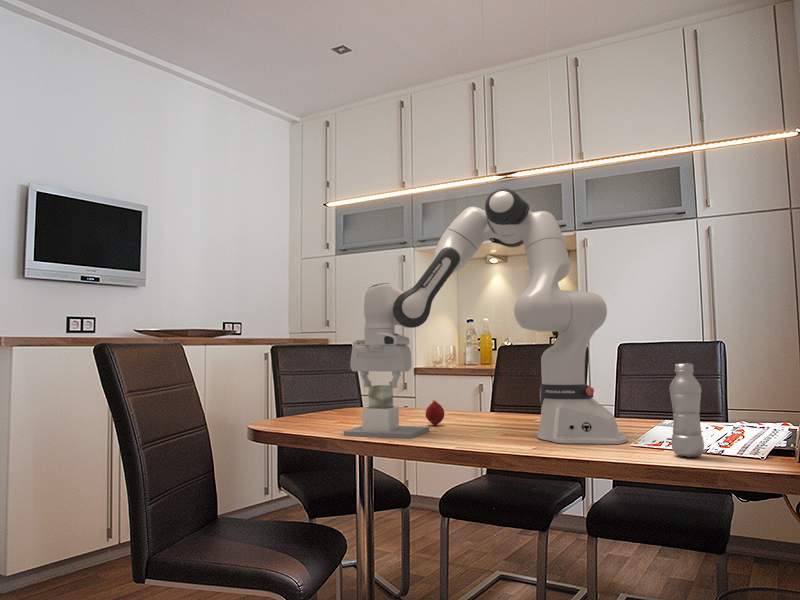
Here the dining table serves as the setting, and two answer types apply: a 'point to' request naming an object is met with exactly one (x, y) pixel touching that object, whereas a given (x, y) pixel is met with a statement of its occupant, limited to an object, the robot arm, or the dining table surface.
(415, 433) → the build base
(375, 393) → the sage block
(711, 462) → the dining table surface
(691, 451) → the plastic bottle
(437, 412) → the onion
